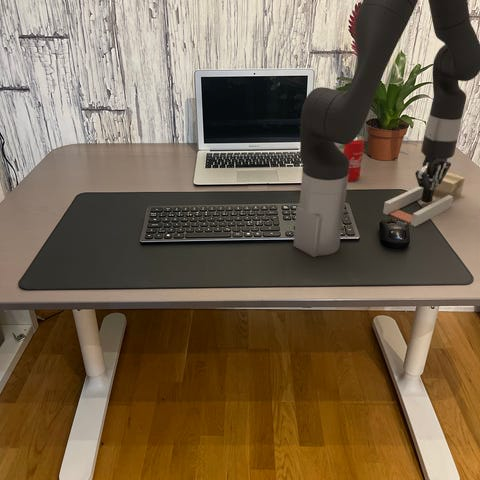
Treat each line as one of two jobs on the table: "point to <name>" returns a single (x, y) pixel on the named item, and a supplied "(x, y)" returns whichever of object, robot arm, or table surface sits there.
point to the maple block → (449, 186)
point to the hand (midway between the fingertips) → (426, 201)
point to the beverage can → (354, 157)
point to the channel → (419, 215)
